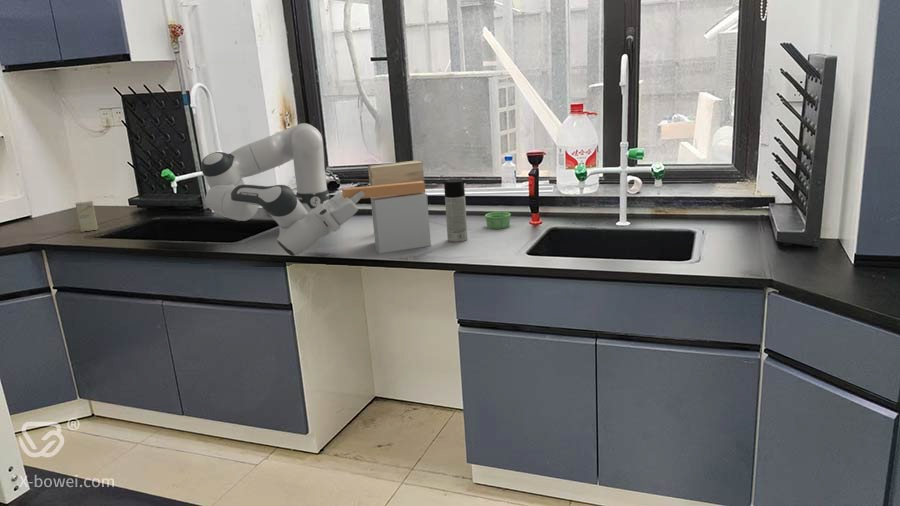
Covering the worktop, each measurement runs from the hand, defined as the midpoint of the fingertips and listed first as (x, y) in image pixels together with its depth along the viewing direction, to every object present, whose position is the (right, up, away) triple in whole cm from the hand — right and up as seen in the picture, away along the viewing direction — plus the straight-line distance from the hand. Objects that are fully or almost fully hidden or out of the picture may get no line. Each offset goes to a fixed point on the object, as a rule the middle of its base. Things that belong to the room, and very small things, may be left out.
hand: (361, 191), depth 203 cm
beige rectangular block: (+11, -15, +18) cm, 26 cm away
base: (+12, -17, +9) cm, 23 cm away
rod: (+7, -1, +3) cm, 8 cm away
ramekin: (+45, -10, +28) cm, 54 cm away
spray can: (+30, -15, +14) cm, 36 cm away
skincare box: (-123, -10, +69) cm, 141 cm away
